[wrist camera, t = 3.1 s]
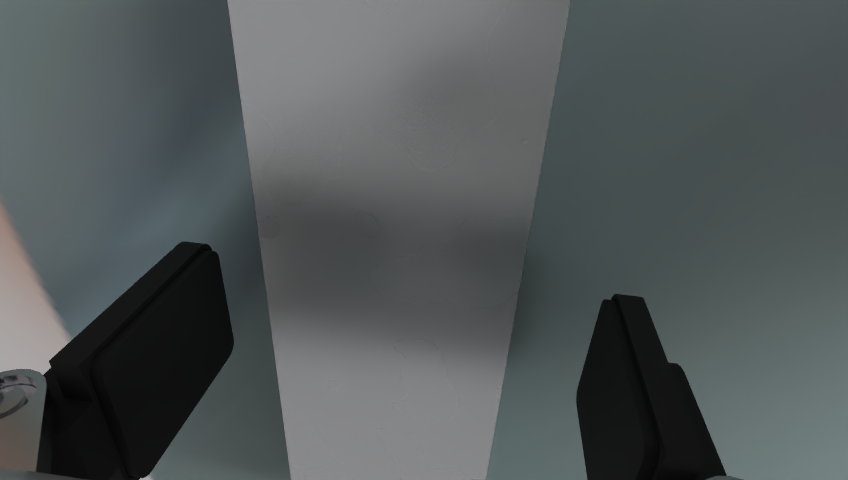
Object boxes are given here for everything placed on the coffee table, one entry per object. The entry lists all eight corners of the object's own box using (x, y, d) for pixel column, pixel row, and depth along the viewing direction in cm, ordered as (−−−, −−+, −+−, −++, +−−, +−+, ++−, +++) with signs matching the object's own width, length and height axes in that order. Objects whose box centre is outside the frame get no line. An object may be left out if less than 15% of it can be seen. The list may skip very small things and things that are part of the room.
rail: (566, -95, 8) (606, -123, 5) (472, 494, 17) (461, 647, 13) (320, -107, 9) (189, -141, 5) (346, 472, 17) (301, 614, 13)
